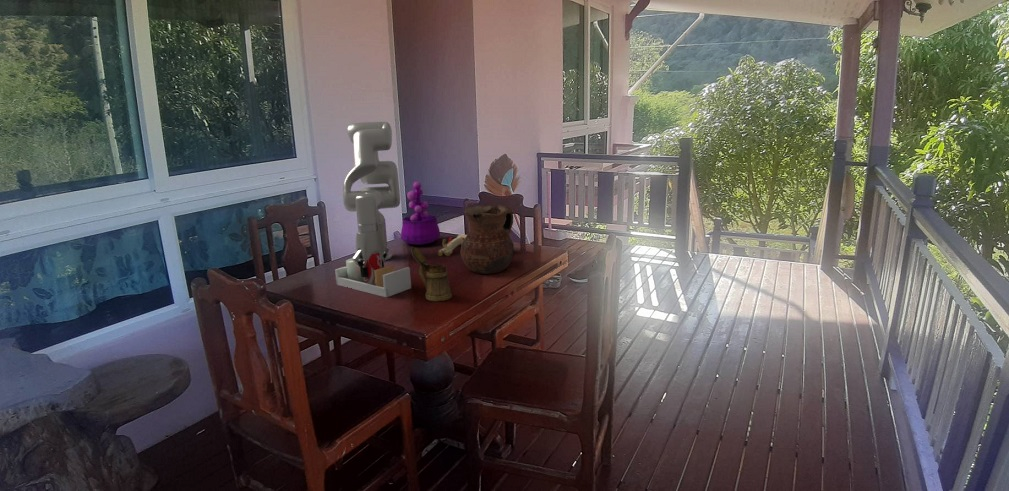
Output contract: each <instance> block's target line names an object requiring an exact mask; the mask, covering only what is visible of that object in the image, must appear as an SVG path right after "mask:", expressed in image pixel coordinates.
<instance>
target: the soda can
mask: <svg viewBox="0 0 1009 491" xmlns="http://www.w3.org/2000/svg"><path fill="white" fill-rule="evenodd" d="M363 262H364V260H363ZM366 267H367V269H368V278H364V282H365V283H367V284H371V285H375V275H374V270H377V269H380V268H382V260H381V255H380V254H379V251H378V252H376V253H371V256H370V258H369V259H368V260H367V264H366Z"/></svg>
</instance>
